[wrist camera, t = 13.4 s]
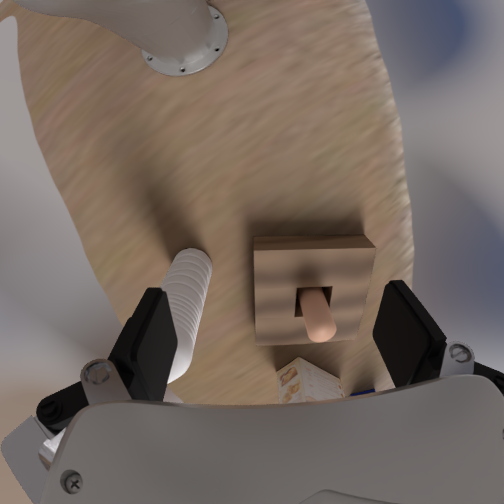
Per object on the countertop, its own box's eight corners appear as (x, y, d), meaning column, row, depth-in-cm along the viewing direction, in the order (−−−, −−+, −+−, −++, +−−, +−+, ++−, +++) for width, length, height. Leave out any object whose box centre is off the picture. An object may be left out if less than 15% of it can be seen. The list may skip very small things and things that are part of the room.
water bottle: (205, 243, 43) (164, 367, 20) (217, 278, 46) (194, 409, 23) (156, 255, 44) (88, 370, 21) (170, 287, 46) (122, 408, 24)
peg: (296, 275, 45) (309, 321, 35) (320, 274, 45) (338, 319, 34) (295, 295, 47) (306, 343, 36) (317, 294, 47) (334, 341, 36)
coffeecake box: (275, 372, 56) (281, 450, 38) (298, 355, 54) (312, 436, 36) (318, 393, 60) (331, 461, 43) (341, 378, 58) (360, 448, 40)
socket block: (253, 236, 42) (253, 250, 38) (364, 234, 42) (376, 247, 38) (255, 327, 50) (255, 345, 46) (348, 321, 50) (356, 339, 45)
